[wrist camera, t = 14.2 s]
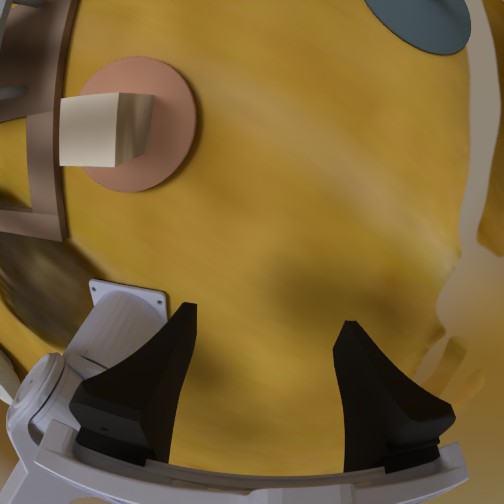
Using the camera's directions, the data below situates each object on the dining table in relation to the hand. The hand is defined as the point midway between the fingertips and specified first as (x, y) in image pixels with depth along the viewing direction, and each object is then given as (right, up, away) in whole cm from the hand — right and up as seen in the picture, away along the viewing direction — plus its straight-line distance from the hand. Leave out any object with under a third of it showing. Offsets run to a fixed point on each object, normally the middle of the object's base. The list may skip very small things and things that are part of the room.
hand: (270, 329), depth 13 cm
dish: (-10, +13, +4) cm, 17 cm away
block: (-10, +12, +3) cm, 16 cm away
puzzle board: (-24, +17, +3) cm, 29 cm away
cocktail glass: (+12, +23, -2) cm, 26 cm away
